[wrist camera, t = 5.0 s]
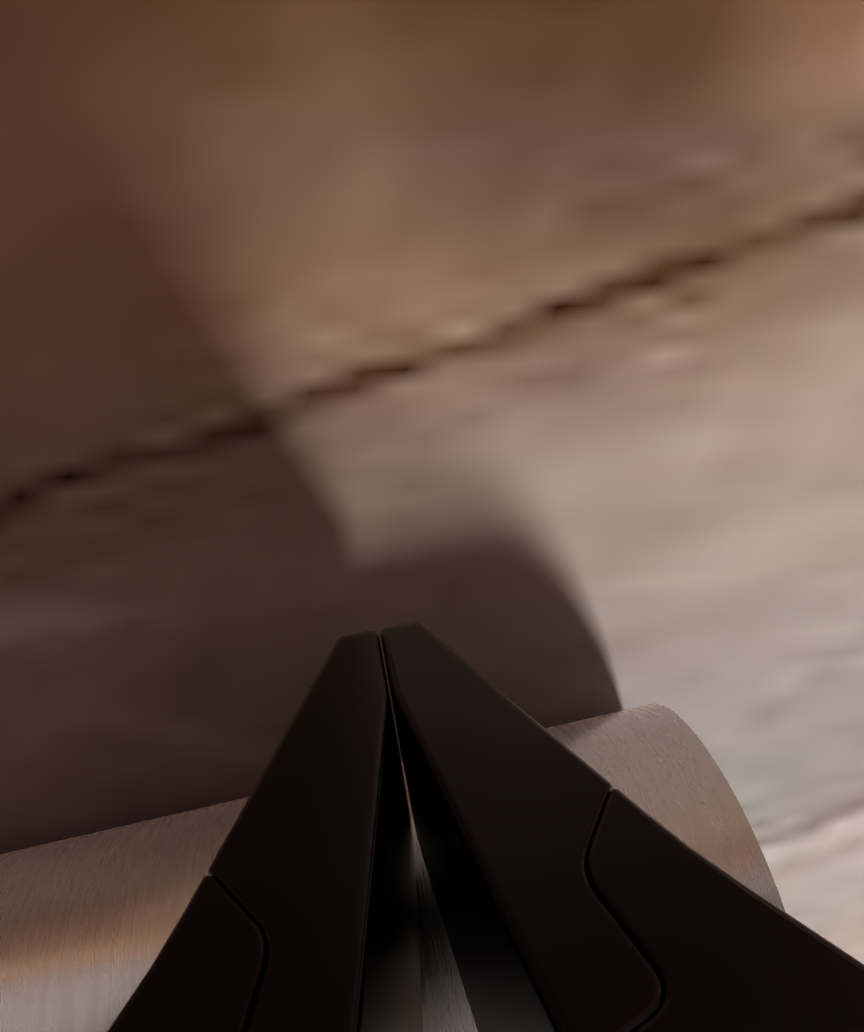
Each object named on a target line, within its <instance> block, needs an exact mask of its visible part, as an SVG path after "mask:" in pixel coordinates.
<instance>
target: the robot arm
mask: <svg viewBox="0 0 864 1032" xmlns="http://www.w3.org/2000/svg"><path fill="white" fill-rule="evenodd" d="M381 639H382V645H383V651H384V657H385V662H386V668H387V674H388V680H389V686H390V691H391V697H392V703H393V709H394V714H395V720H396V725H397V731H398V737H399V742H400V748H401V753H402V759H403V765H404V770H405V776H406V781H407V787H408V793H409V798H410V804H411V809H412V815H413V820H414V824H415V829H416V834H417V838H418V842H419V845H420V849H421V853H422V856H423V860H424V863H425V866H426V869H427V872H428V875H429V879H430V882H431V885H432V888H433V891H434V894H435V898H436V901H437V904H438V907H439V910H440V913H441V917H442V920H443V923H444V926H445V929H446V932H447V936H448V939H449V942H450V945H451V948H452V951H453V955H454V958H455V961H456V964H457V967H458V970H459V974H460V977H461V980H462V983H463V986H464V989H465V993H466V996H467V999H468V1002H469V1005H470V1008H471V1012H472V1015H473V1018H474V1021H475V1024H476V1027H477V1031H478V1032H864V964H862V963H861V962H859V961H858V960H856V959H855V958H853V957H852V956H850V955H849V954H847V953H846V952H844V951H843V950H841V949H840V948H838V947H837V946H835V945H834V944H832V943H831V942H829V941H828V940H826V939H825V938H823V937H822V936H820V935H819V934H817V933H816V932H814V931H813V930H811V929H810V928H808V927H807V926H805V925H804V924H802V923H801V922H799V921H798V920H796V919H795V918H793V917H792V916H790V915H789V914H787V913H786V912H784V911H783V910H781V909H780V908H778V907H777V906H775V905H773V904H772V903H770V902H769V901H767V900H766V899H764V898H763V897H761V896H760V895H758V894H757V893H755V892H754V891H752V890H751V889H749V888H748V887H747V886H745V885H744V884H742V883H741V882H739V881H738V880H737V879H735V878H734V877H732V876H731V875H729V874H728V873H727V872H725V871H724V870H722V869H721V868H719V867H718V866H717V865H715V864H714V863H712V862H711V861H709V860H708V859H707V858H705V857H704V856H702V855H701V854H699V853H698V852H697V851H695V850H694V849H692V848H691V847H690V846H688V845H687V844H686V843H685V842H683V841H682V840H681V839H679V838H678V837H677V836H676V835H674V834H673V833H672V832H671V831H669V830H668V829H667V828H665V827H664V826H663V825H662V824H660V823H659V822H658V821H657V820H655V819H654V818H653V817H651V816H650V815H649V814H648V813H646V812H645V811H644V810H643V809H641V808H640V807H639V806H638V805H637V804H636V803H634V802H633V801H632V800H631V799H630V798H628V797H627V796H626V795H625V794H624V793H622V792H621V791H620V790H619V789H613V786H612V784H611V783H610V782H609V781H608V780H606V779H605V778H604V777H603V776H602V775H600V774H599V773H598V772H597V771H596V770H594V769H593V768H592V767H591V766H590V765H588V764H587V763H586V762H585V761H584V760H582V759H581V758H580V757H579V756H578V755H576V754H575V753H574V752H573V751H572V750H570V749H569V748H568V747H567V746H566V745H564V744H563V743H562V742H561V741H560V740H558V739H557V738H556V737H555V736H554V735H552V734H551V733H550V732H549V731H548V730H546V729H545V728H544V727H543V726H542V725H540V724H539V723H538V722H537V721H536V720H534V719H533V718H532V717H531V716H530V715H528V714H527V713H526V712H525V711H524V710H522V709H521V708H520V707H519V706H518V705H516V704H515V703H514V702H513V701H512V700H510V699H509V698H508V697H507V696H506V695H504V694H503V693H502V692H501V691H500V690H498V689H497V688H496V687H495V686H494V685H492V684H491V683H490V682H489V681H488V680H487V679H485V678H484V677H483V676H482V675H481V674H479V673H478V672H477V671H476V670H475V669H473V668H472V667H471V666H470V665H469V664H467V663H466V662H465V661H464V660H463V659H461V658H460V657H459V656H458V655H457V654H455V653H454V652H453V651H452V650H451V649H449V648H448V647H447V646H446V645H445V644H443V643H442V642H441V641H440V640H439V639H437V638H436V637H435V636H434V635H433V634H431V633H430V632H429V631H428V630H427V629H425V628H424V627H423V626H422V625H420V624H418V623H410V624H405V625H400V626H394V627H389V628H386V629H384V630H383V631H382V633H381ZM107 1032H423V1015H422V994H421V973H420V952H419V930H418V909H417V888H416V866H415V851H414V839H413V831H412V824H411V817H410V811H409V806H408V800H407V794H406V788H405V783H404V777H403V771H402V765H401V760H400V754H399V748H398V742H397V736H396V731H395V725H394V719H393V713H392V708H391V702H390V696H389V690H388V685H387V679H386V674H385V668H384V662H383V657H382V651H381V646H380V640H379V636H378V634H377V633H376V632H374V631H368V632H363V633H357V634H352V635H346V636H342V637H340V638H339V639H338V640H337V642H336V644H335V645H334V647H333V649H332V651H331V653H330V654H329V656H328V658H327V660H326V661H325V663H324V665H323V667H322V668H321V670H320V672H319V674H318V676H317V677H316V679H315V681H314V683H313V684H312V686H311V688H310V690H309V692H308V693H307V695H306V697H305V699H304V700H303V702H302V704H301V706H300V708H299V709H298V711H297V713H296V715H295V716H294V718H293V720H292V722H291V723H290V725H289V727H288V729H287V731H286V732H285V734H284V736H283V738H282V739H281V741H280V743H279V745H278V747H277V748H276V750H275V752H274V754H273V755H272V757H271V759H270V761H269V763H268V764H267V766H266V768H265V770H264V771H263V773H262V775H261V777H260V779H259V780H258V782H257V784H256V786H255V787H254V789H253V791H252V793H251V794H250V796H249V798H248V800H247V802H246V803H245V805H244V807H243V809H242V810H241V812H240V814H239V816H238V818H237V819H236V821H235V823H234V825H233V826H232V828H231V830H230V832H229V834H228V835H227V837H226V839H225V841H224V842H223V844H222V846H221V848H220V849H219V851H218V853H217V855H216V857H215V858H214V860H213V862H212V864H211V865H210V867H209V869H208V875H207V876H205V877H203V879H202V880H201V882H200V884H199V886H198V888H197V889H196V891H195V893H194V895H193V897H192V898H191V900H190V902H189V904H188V905H187V907H186V909H185V911H184V913H183V914H182V916H181V917H180V919H179V921H178V922H177V924H176V926H175V927H174V929H173V931H172V932H171V934H170V936H169V937H168V939H167V941H166V942H165V944H164V946H163V947H162V949H161V951H160V952H159V954H158V956H157V957H156V959H155V961H154V962H153V964H152V966H151V967H150V969H149V970H148V972H147V973H146V975H145V976H144V978H143V979H142V981H141V982H140V984H139V985H138V987H137V988H136V990H135V991H134V993H133V994H132V996H131V997H130V999H129V1000H128V1002H127V1003H126V1005H125V1006H124V1007H123V1009H122V1010H121V1012H120V1013H119V1015H118V1016H117V1018H116V1019H115V1021H114V1022H113V1024H112V1025H111V1027H110V1028H109V1030H108V1031H107Z"/></svg>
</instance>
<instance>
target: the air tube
mask: <svg viewBox="0 0 864 1032" xmlns="http://www.w3.org/2000/svg"><path fill="white" fill-rule="evenodd" d="M545 729H546V730H548V731H549V732H550V733H551V734H552V735H554V736H555V737H556V738H557V739H558V740H560V741H561V742H562V743H563V744H564V745H566V746H567V747H568V748H569V749H570V750H572V751H573V752H574V753H575V754H576V755H578V756H579V757H580V758H581V759H582V760H584V761H585V762H586V763H587V764H588V765H590V766H591V767H592V768H593V769H594V770H596V771H597V772H598V773H599V774H600V775H602V776H603V777H604V778H605V779H606V780H608V781H609V782H610V783H611V784H612V786H613V789H619V790H620V791H621V792H622V793H624V794H625V795H626V796H627V797H628V798H630V799H631V800H632V801H633V802H634V803H636V804H637V805H638V806H639V807H640V808H641V809H643V810H644V811H645V812H646V813H648V814H649V815H650V816H651V817H653V818H654V819H655V820H657V821H658V822H659V823H660V824H662V825H663V826H664V827H665V828H667V829H668V830H669V831H671V832H672V833H673V834H674V835H676V836H677V837H678V838H679V839H681V840H682V841H683V842H685V843H686V844H687V845H688V846H690V847H691V848H692V849H694V850H695V851H697V852H698V853H699V854H701V855H702V856H704V857H705V858H707V859H708V860H709V861H711V862H712V863H714V864H715V865H717V866H718V867H719V868H721V869H722V870H724V871H725V872H727V873H728V874H729V875H731V876H732V877H734V878H735V879H737V880H738V881H739V882H741V883H742V884H744V885H745V886H747V887H748V888H749V889H751V890H752V891H754V892H755V893H757V894H758V895H760V896H761V897H763V898H764V899H766V900H767V901H769V902H770V903H772V904H773V905H775V906H777V907H778V908H780V909H781V910H783V911H784V912H785V910H784V907H783V904H782V901H781V898H780V896H779V893H778V890H777V887H776V885H775V882H774V880H773V877H772V875H771V872H770V870H769V867H768V865H767V862H766V860H765V857H764V855H763V853H762V851H761V848H760V846H759V844H758V842H757V840H756V837H755V835H754V833H753V831H752V828H751V826H750V824H749V822H748V820H747V818H746V816H745V814H744V812H743V810H742V808H741V806H740V804H739V802H738V800H737V798H736V796H735V795H734V793H733V791H732V789H731V788H730V786H729V784H728V782H727V780H726V779H725V777H724V775H723V773H722V772H721V770H720V769H719V767H718V765H717V764H716V762H715V761H714V759H713V758H712V756H711V755H710V753H709V752H708V750H707V749H706V747H705V746H704V745H703V743H702V742H701V741H700V739H699V738H698V737H697V735H696V734H695V733H694V732H693V731H692V730H691V728H690V727H689V726H688V725H687V724H686V723H685V722H684V721H683V720H682V719H681V718H680V717H679V716H678V715H676V714H675V713H674V712H673V711H671V710H670V709H668V708H666V707H665V706H662V705H659V704H648V705H644V706H640V707H635V708H631V709H627V710H622V711H618V712H614V713H609V714H605V715H601V716H597V717H592V718H588V719H584V720H579V721H575V722H571V723H566V724H562V725H558V726H553V727H549V728H545ZM401 765H402V771H403V777H404V783H405V788H406V794H407V800H408V806H409V811H410V817H411V824H412V831H413V839H414V851H415V866H416V888H417V909H418V930H419V952H420V973H421V994H422V1015H423V1032H478V1031H477V1027H476V1024H475V1021H474V1018H473V1015H472V1012H471V1008H470V1005H469V1002H468V999H467V996H466V993H465V989H464V986H463V983H462V980H461V977H460V974H459V970H458V967H457V964H456V961H455V958H454V955H453V951H452V948H451V945H450V942H449V939H448V936H447V932H446V929H445V926H444V923H443V920H442V917H441V913H440V910H439V907H438V904H437V901H436V898H435V894H434V891H433V888H432V885H431V882H430V879H429V875H428V872H427V869H426V866H425V863H424V860H423V856H422V853H421V849H420V845H419V842H418V838H417V834H416V829H415V824H414V820H413V815H412V809H411V804H410V798H409V793H408V787H407V781H406V776H405V770H404V765H403V761H402V762H401ZM248 798H249V797H246V798H242V799H237V800H233V801H229V802H224V803H220V804H216V805H211V806H207V807H203V808H198V809H194V810H190V811H185V812H181V813H177V814H172V815H168V816H164V817H159V818H155V819H151V820H146V821H142V822H138V823H133V824H129V825H125V826H120V827H116V828H112V829H107V830H103V831H99V832H94V833H90V834H86V835H81V836H77V837H73V838H68V839H64V840H60V841H55V842H51V843H47V844H42V845H38V846H34V847H29V848H25V849H21V850H16V851H12V852H8V853H3V854H0V1032H107V1031H108V1030H109V1028H110V1027H111V1025H112V1024H113V1022H114V1021H115V1019H116V1018H117V1016H118V1015H119V1013H120V1012H121V1010H122V1009H123V1007H124V1006H125V1005H126V1003H127V1002H128V1000H129V999H130V997H131V996H132V994H133V993H134V991H135V990H136V988H137V987H138V985H139V984H140V982H141V981H142V979H143V978H144V976H145V975H146V973H147V972H148V970H149V969H150V967H151V966H152V964H153V962H154V961H155V959H156V957H157V956H158V954H159V952H160V951H161V949H162V947H163V946H164V944H165V942H166V941H167V939H168V937H169V936H170V934H171V932H172V931H173V929H174V927H175V926H176V924H177V922H178V921H179V919H180V917H181V916H182V914H183V913H184V911H185V909H186V907H187V905H188V904H189V902H190V900H191V898H192V897H193V895H194V893H195V891H196V889H197V888H198V886H199V884H200V882H201V880H202V879H203V877H205V876H207V875H208V869H209V867H210V865H211V864H212V862H213V860H214V858H215V857H216V855H217V853H218V851H219V849H220V848H221V846H222V844H223V842H224V841H225V839H226V837H227V835H228V834H229V832H230V830H231V828H232V826H233V825H234V823H235V821H236V819H237V818H238V816H239V814H240V812H241V810H242V809H243V807H244V805H245V803H246V802H247V800H248Z"/></svg>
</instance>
